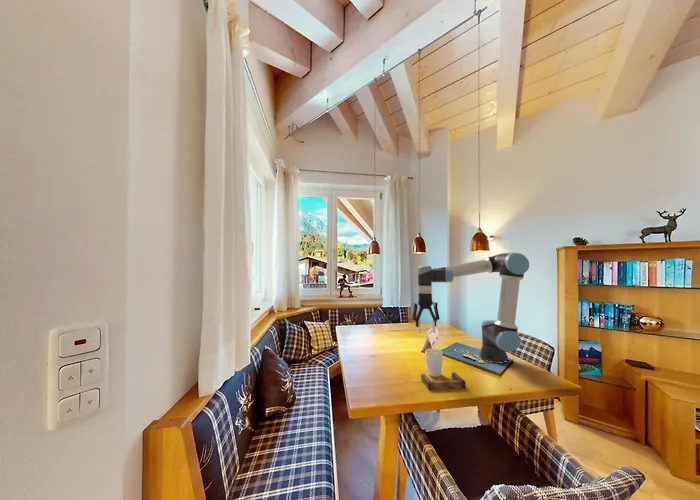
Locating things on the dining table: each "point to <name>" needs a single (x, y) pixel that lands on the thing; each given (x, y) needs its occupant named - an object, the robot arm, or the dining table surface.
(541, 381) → the dining table surface
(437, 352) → the cup
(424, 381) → the walnut pocket
